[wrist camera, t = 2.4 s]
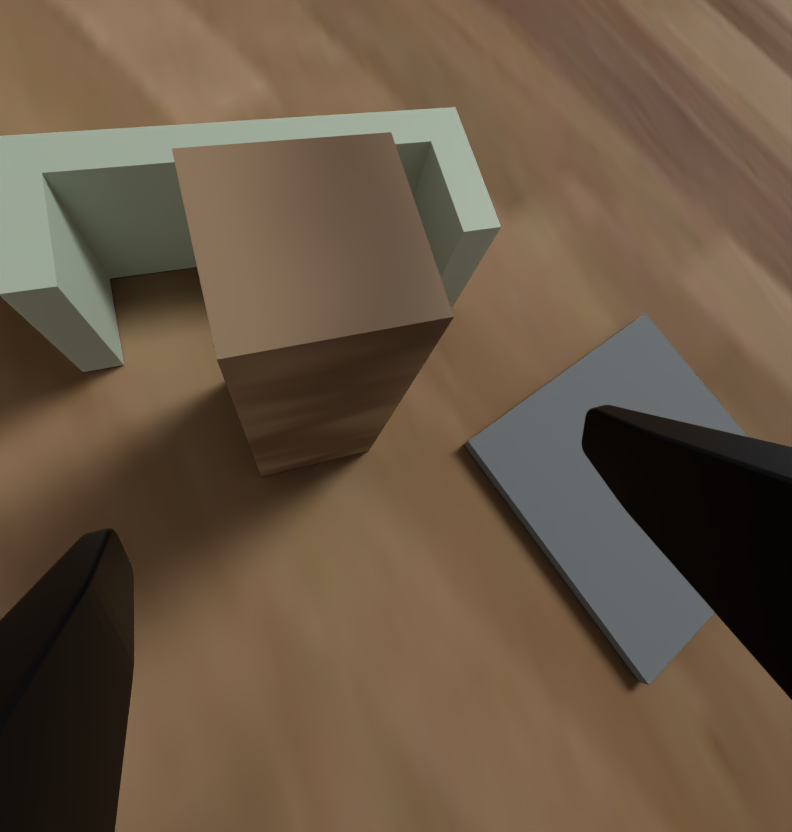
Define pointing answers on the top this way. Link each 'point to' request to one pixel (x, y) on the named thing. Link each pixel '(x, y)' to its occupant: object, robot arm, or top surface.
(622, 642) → the slate mat
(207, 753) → the top surface
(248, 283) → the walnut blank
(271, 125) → the nook
